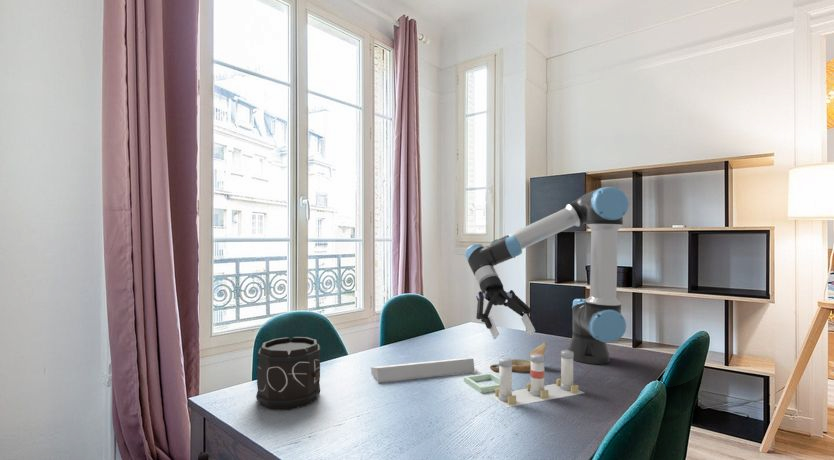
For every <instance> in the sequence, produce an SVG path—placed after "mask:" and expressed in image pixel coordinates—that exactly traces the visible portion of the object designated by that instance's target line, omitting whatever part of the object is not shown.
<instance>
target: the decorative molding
mask: <svg viewBox="0 0 834 460" xmlns="http://www.w3.org/2000/svg"><path fill="white" fill-rule="evenodd" d="M475 370H476V369H475V361H474V358H464V357H463V358H462V357H461V358H454V359H453V358H452V359H451V358H450V359H443V360H432V361H431V360H430V361H421V362H411V363H402V364H401V363H400V364H393V365H392V364H391V365H378V366H371V367H370V371H371V372H370V373H371V374H372V376H373V378H375V380H376V382H377V383H378V384H380V383H381V384H382V383H388V382H389V383H390V382H400V381H408V380H409V381H410V380H419V379H426V378H435V377H442V376H451V375H452V376H453V375H462V374H464V375H465V374H472V373H475Z"/></svg>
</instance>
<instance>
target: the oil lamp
mask: <svg viewBox="0 0 834 460" xmlns="http://www.w3.org/2000/svg"><path fill="white" fill-rule="evenodd" d="M546 348H547V342H546V341H545V342H543V343H541V344H540V345H538V346H537V347H535V348H534V349H533V350H531V351H530V352H529V354H528V355H529V356H530V355H531V354H542V355H544V356H545V352H546V350H547V349H546ZM511 359H512V358H511ZM489 369H490V370H491V371H492V372H494V373H499V363H497V364H491V365H490V366H489ZM530 369H531V361H530V359H521V358H515V359H514V358H513V359H512V372H519V373H520V372H522V373H526V372H530Z"/></svg>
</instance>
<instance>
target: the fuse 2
mask: <svg viewBox="0 0 834 460" xmlns="http://www.w3.org/2000/svg"><path fill="white" fill-rule="evenodd" d="M573 358H574V352H573V351H569V350H568V349H562V350H561V351H560V378H561V389H562V390H565V391H571V386H572V385H575V384H574V360H573Z"/></svg>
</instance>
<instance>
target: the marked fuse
mask: <svg viewBox="0 0 834 460" xmlns="http://www.w3.org/2000/svg"><path fill="white" fill-rule="evenodd" d="M529 356H530V357H529V358H530V359H529V360H530V361H531V369H530V371H529V372H530V373H529V374H530V375H529V376H530V383H531V387H530V394H531V395H533V396H538V397H540V391H543V390H545V389H544V386H545V372H546V371H545V361H546V360H545V359H546V357H545V354H544V355H542V354H531V355H529Z"/></svg>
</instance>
